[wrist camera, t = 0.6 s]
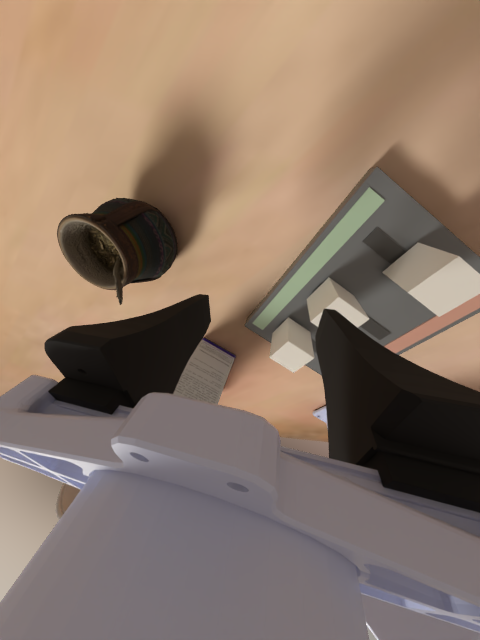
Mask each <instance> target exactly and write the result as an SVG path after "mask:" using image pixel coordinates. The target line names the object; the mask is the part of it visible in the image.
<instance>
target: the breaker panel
mask: <svg viewBox="0 0 480 640" xmlns="http://www.w3.org/2000/svg"><path fill="white" fill-rule="evenodd" d="M417 243H421V244H424V245H427V246H430V247H433V248H436V249H439V250H442V251H445V252H448V253H451V254H454V255H457V256H460V257H461V258H462V259H463V260H464V261H465V262H466V263H468V264H469V265H470V266H471V267H472V268H473V269H474V270H476V271H477V272H478V273H479V274H480V257H479V256H477V255H476V254H475V253H474V252H473V251H472V250H471V249H470V248H468V247H467V246H466V245H465V244H464V243H463V242H462V241H461V240H459V239H458V238H457V237H456V236H455V235H454V234H453V233H452V232H450V231H449V230H448V229H447V228H446V227H445V226H444V225H443V224H441V223H440V222H439V221H438V220H437V219H436V218H435V217H433V216H432V215H431V214H430V213H429V212H428V211H427V210H426V209H424V208H423V207H422V206H421V205H420V204H419V203H418V202H417V201H415V200H414V199H413V198H412V197H411V196H410V195H409V194H408V193H406V192H405V191H404V190H403V189H402V188H401V187H400V186H398V185H397V184H396V183H395V182H394V181H393V180H392V179H391V178H389V177H388V176H387V175H386V174H385V173H384V172H383V171H382V170H380V169H379V168H378V167H375V168H372V169H369V170H368V171H367V173H366V174H365V175H364V176H363V178H362V179H361V180H360V181H359V182H358V184H357V185H356V186H355V187H354V189H353V190H352V191H351V192H350V194H349V195H348V196H347V197H346V198H345V200H344V201H343V202H342V203H341V205H340V206H339V207H338V208H337V209H336V211H335V212H334V213H333V214H332V216H331V217H330V218H329V219H328V220H327V222H326V223H325V224H324V225H323V227H322V228H321V229H320V230H319V232H318V233H317V234H316V235H315V236H314V238H313V239H312V240H311V241H310V243H309V244H308V245H307V246H306V247H305V249H304V250H303V251H302V252H301V254H300V255H299V256H298V257H297V258H296V260H295V261H294V262H293V263H292V265H291V266H290V267H289V268H288V270H287V271H286V272H285V273H284V274H283V276H282V277H281V278H280V279H279V281H278V282H277V283H276V284H275V285H274V287H273V288H272V289H271V290H270V292H269V293H268V294H267V295H266V297H265V298H264V299H263V300H262V301H261V303H260V304H259V305H258V306H257V308H256V309H255V310H254V311H253V312H252V314H251V315H250V316H249V317H248V319H247V321H246V323H245V327H247V328H248V329H250V330H252V331H253V332H255V333H256V334H258V335H259V336H261V337H263V338H264V339H266V340H267V341H269V342H270V343H271V341H272V333H273V332H274V331H275V330H276V329H277V328H278V327H279V326H280V325H281V324H282V323H283V322H284V321H285V320H286V319H287V318H288V317H289V318H290V319H292V320H293V321H295V322H296V323H298V324H299V325H301V326H302V327H304V328H305V329H306V330H308V331H309V332H310V333H311V340H312V346H313V352H314V359H313V360H311V361H310V362H308V363H307V364H305V365H306V366H308V367H309V368H311V369H312V370H314V371H316V372H317V373H319V374H320V375H322V374H321V370H320V365H319V361H318V356H317V351H316V340H315V335H316V332H317V329H318V327H317V326H316V325H314V324H313V323H311V322H310V317H309V311H308V305H307V300H306V299H307V298H308V297H309V296H310V295H311V294H312V293H313V292H314V291H315V290H316V289H317V288H318V287H319V286H320V285H321V284H323V283H324V282H325V281H326V280H327V279H328V278H331V279H332V280H333V281H335V282H336V283H337V284H339V285H340V286H341V287H343V288H344V289H345V290H347V291H348V292H350V293H351V294H352V295H354V297H355V298H356V300H357V301H358V303H359V304H360V306H361V307H362V309H363V310H364V312H365V313H366V314H367V316H368V317H369V320H368V321H366V322H365V323H364V324H362V325H361V326H359V327H358V329H360V330H361V331H362V332H364V333H365V334H366V335H368V336H369V337H370V338H372V339H373V340H375V341H376V342H378V343H379V344H381V345H382V346H384V347H386V348H387V349H389V350H390V351H392V352H394V353H395V354H397V355H400V354H402V353H403V352H405V351H407V350H409V349H411V348H413V347H415V346H417V345H419V344H420V343H422V342H424V341H426V340H428V339H430V338H432V337H434V336H436V335H437V334H439V333H441V332H443V331H445V330H447V329H449V328H451V327H453V326H454V325H456V324H458V323H460V322H462V321H464V320H466V319H468V318H470V317H471V316H473V315H475V314H477V313H479V312H480V294H478V295H477V296H475V297H473V298H472V299H470V300H468V301H466V302H465V303H463V304H461V305H459V306H458V307H456V308H454V309H452V310H451V311H449V312H447V313H445V314H444V315H442V316H440V317H438V316H437V315H436V314H434V313H433V312H432V311H431V310H429V309H428V308H427V307H426V306H424V305H423V304H422V303H420V302H419V301H418V300H417V299H415V298H414V297H413V296H411V295H410V294H409V293H408V292H406V291H405V290H404V289H403V288H401V287H400V286H399V285H397V284H396V283H395V282H394V281H392V280H391V279H390V278H389V277H387V276H386V275H385V274H384V273H382V272H383V271H384V270H385V269H387V268H388V267H389V266H390V265H391V264H393V263H394V262H395V261H396V260H397V259H399V258H400V257H401V256H402V255H403V254H405V253H406V252H407V251H408V250H409V249H411V248H412V247H413V246H414V245H415V244H417Z"/></svg>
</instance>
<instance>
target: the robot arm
mask: <svg viewBox="0 0 480 640" xmlns="http://www.w3.org/2000/svg"><path fill="white" fill-rule="evenodd" d="M210 322H211V317H210V307H209V296H208V295H202V294H199V295H196V296H193V297H191V298H188V299H186V300H184V301H181V302H179V303H177V304H174V305H172V306H169V307H167V308H164V309H162V310H159V311H156V312H153V313H149V314H146V315H143V316H138V317H134V318H130V319H125V320H120V321H115V322H108V323H101V324H92V325H81V326H71V327H69V328H67V329H65V330H63V331H61V332H60V333H58V334H56V335H55V336H53V337H51V338H49V339H48V340H47V341H46V342H45V351H46V354H47V355H48V357H49V358H50V359H51V361H52V362H53V363H54V364H55V366H56V367H57V368H58V369H59V370H60V372H61V373H62V374H63V375H64V377H65V378H64V379H63V380H62V381H60V382H59V383H58V382H57V381H55V380H53V379H50V378H46V377H42V376H38V375H31V376H30V377H28V378H27V379H25V380H24V381H22V382H21V383H20V384H18V385H17V386H15V387H14V388H12V389H11V390H9V391H8V392H6V393H5V394H3V395H2V396H1V397H0V457H1V458H3V459H5V460H8V461H10V462H13V463H16V464H18V465H21V466H24V467H26V468H29V469H32V470H34V471H37V472H39V473H42V474H44V475H46V476H49V477H51V478H54V479H57V480H59V481H61V482H64V483H66V484H68V485H71V486H73V487H76V488H78V489H81V491H80V492H79V493H78V495H77V496H76V497H75V499H74V500H73V502H72V503H71V504H70V506H69V507H68V509H67V510H66V511H65V513H64V514H63V516H62V517H61V518H60V520H59V521H58V523H57V524H56V525H55V527H54V528H53V530H52V531H51V532H50V534H49V535H48V537H47V538H46V540H45V541H44V542H43V544H42V545H41V546H40V548H39V549H38V551H37V552H36V553H35V555H34V556H33V558H32V559H31V560H30V562H29V563H28V565H27V566H26V567H25V569H24V570H23V572H22V573H21V574H20V576H19V577H18V579H17V580H16V581H15V583H14V584H13V586H12V587H11V588H10V590H9V591H8V593H7V594H6V595H5V597H4V598H3V600H2V601H1V602H0V640H369V637H368V631H367V627H368V628H369V630H370V631H371V632H372V634H373V635H374V636H375V638H376V639H377V640H480V392H478V391H476V390H473V389H470V388H468V387H465V386H463V385H460V384H458V383H455V382H453V381H451V380H448V379H446V378H444V377H442V376H439V375H437V374H435V373H433V372H430V371H428V370H426V369H424V368H422V367H420V366H418V365H416V364H414V363H412V362H410V361H408V360H406V359H405V358H403V357H401V356H399V355H397V354H395V353H394V352H392V351H390V350H389V349H387V348H386V347H384V346H382V345H381V344H379V343H378V342H376V341H375V340H373V339H372V338H370V337H369V336H368V335H366V334H365V333H364V332H362V331H361V330H360V329H358V328H357V327H356V326H355V325H353V324H352V323H351V322H350V321H349V320H347V319H346V318H345V317H344V316H343V315H341V314H340V313H339V312H338V311H336V310H333V309H324V310H323V313H322V316H321V319H320V322H319V326H318V329H317V332H316V335H315V340H316V351H317V356H318V361H319V365H320V370H321V374H322V379H323V383H324V390H325V399H326V406H324V407H322V408H320V409H318V410H316V411H314V412H313V415H314V416H315V417H317V418H319V419H320V420H322V421H324V422H325V423H327V429H328V440H329V458H327V457H323V456H319V455H315V454H311V453H307V452H303V451H299V450H295V449H291V448H287V447H283V446H280V437H279V433H278V430H277V429H276V428H275V427H274V426H273V425H271V424H270V423H269V422H268V421H267V420H265V419H264V418H263V417H260V416H258V415H255V414H253V413H250V412H247V411H244V410H240V409H235V408H231V407H226V406H222V405H218V404H213V403H209V402H204V401H200V400H196V399H191V398H187V397H182V396H178V395H173V393H174V391H175V388H176V386H177V384H178V382H179V379H180V377H181V375H182V373H183V371H184V369H185V367H186V365H187V363H188V361H189V359H190V357H191V356H192V354H193V352H194V351H195V349H196V348H197V346H198V345H199V343H200V341H201V340H202V338H203V337H204V335H205V333H206V331H207V329H208V327H209V324H210Z"/></svg>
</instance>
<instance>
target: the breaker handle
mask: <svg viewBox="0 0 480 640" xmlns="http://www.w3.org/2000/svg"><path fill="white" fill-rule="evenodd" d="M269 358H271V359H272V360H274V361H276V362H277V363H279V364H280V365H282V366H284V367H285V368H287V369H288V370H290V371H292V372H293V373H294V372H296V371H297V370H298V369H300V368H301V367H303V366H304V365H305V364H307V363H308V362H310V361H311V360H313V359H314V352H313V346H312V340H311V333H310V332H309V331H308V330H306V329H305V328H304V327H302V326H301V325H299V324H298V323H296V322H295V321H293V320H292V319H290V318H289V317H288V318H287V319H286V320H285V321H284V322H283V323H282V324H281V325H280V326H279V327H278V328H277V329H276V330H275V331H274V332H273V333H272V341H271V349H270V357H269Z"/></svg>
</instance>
